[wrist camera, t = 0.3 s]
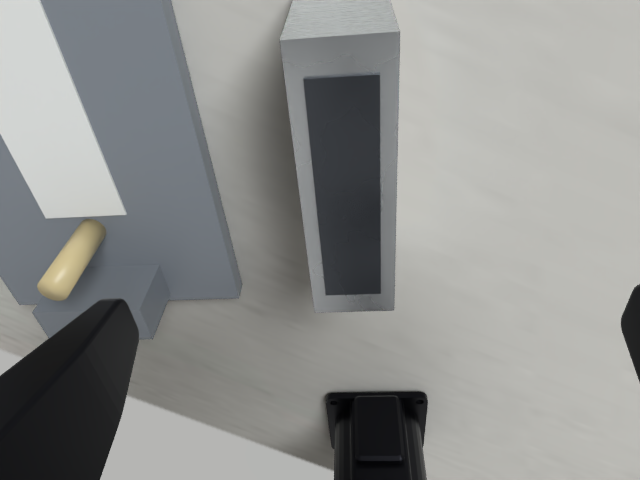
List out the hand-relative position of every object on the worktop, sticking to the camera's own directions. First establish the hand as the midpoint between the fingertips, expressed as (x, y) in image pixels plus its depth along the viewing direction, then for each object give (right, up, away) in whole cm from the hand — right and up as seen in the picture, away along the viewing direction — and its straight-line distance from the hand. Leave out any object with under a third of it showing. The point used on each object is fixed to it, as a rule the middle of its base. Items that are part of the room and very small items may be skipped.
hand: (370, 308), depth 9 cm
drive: (0, +6, +11) cm, 13 cm away
